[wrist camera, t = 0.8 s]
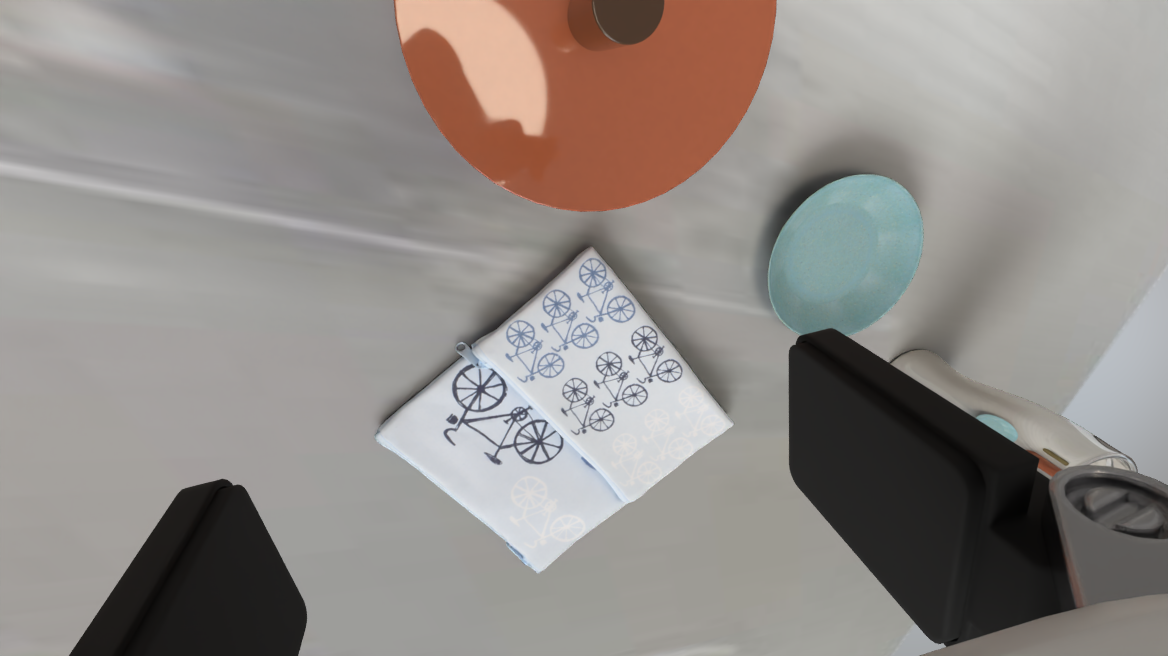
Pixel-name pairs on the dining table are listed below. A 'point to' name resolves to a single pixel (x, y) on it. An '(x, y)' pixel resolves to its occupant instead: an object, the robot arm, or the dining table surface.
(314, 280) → the dining table surface
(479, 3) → the lid
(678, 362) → the white flat patterned piece
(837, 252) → the saucer
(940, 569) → the robot arm
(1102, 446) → the beer glass
